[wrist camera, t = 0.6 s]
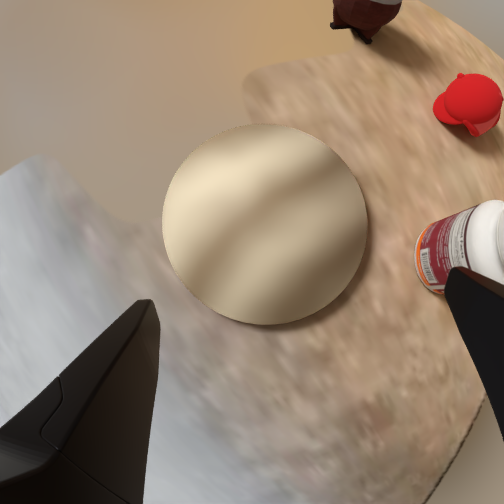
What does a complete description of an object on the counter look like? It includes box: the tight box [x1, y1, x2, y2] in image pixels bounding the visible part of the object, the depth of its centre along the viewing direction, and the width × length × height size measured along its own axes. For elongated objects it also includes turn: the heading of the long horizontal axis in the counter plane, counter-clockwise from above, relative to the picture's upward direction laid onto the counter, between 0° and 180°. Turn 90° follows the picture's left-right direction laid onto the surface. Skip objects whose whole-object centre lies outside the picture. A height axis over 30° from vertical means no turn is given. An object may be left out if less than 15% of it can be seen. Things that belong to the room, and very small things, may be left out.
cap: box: [433, 73, 504, 137], centre depth 23 cm, size 8×6×6 cm
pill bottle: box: [414, 200, 504, 294], centre depth 18 cm, size 6×6×11 cm
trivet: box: [162, 124, 368, 325], centre depth 23 cm, size 15×15×1 cm
